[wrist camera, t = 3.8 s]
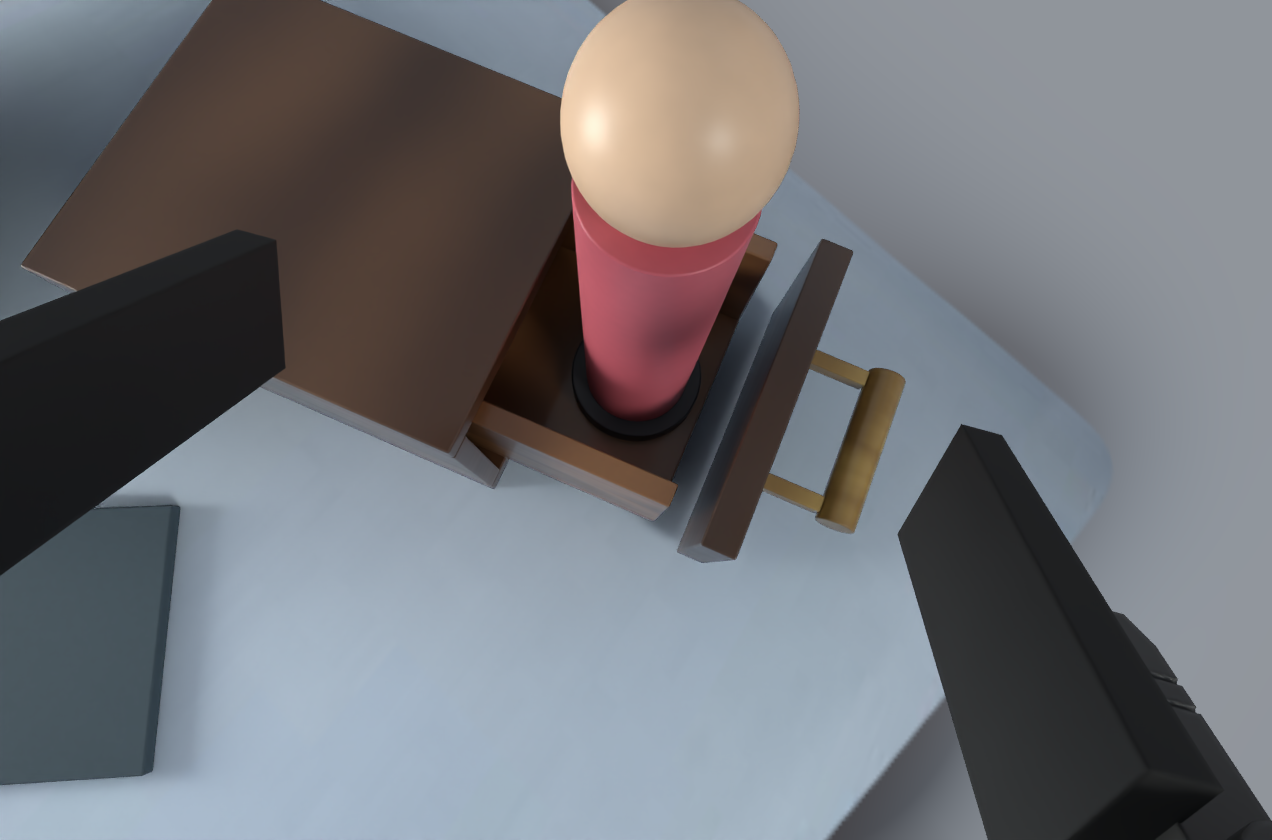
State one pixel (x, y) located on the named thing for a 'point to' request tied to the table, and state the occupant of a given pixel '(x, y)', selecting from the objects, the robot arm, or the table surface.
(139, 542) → the mat
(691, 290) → the ball-topped pink peg
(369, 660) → the table surface
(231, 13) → the cabinet
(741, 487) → the drawer
